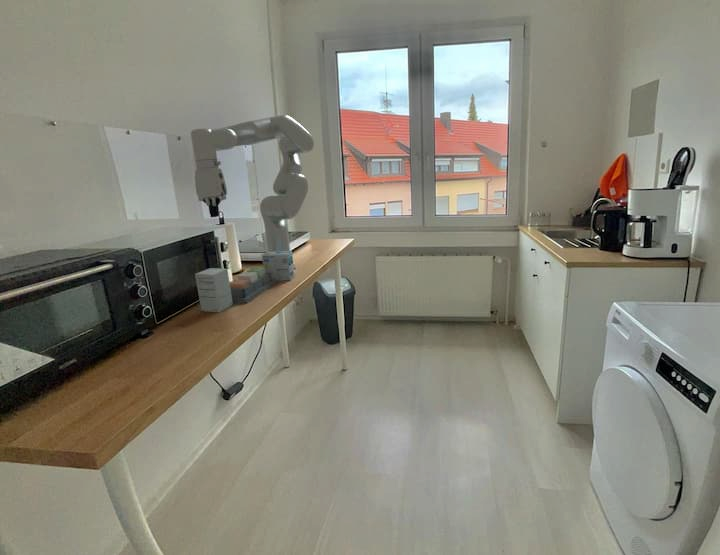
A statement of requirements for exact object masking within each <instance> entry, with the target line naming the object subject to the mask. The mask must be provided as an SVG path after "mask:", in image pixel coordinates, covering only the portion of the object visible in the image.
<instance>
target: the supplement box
mask: <svg viewBox="0 0 720 555" xmlns="http://www.w3.org/2000/svg"><path fill="white" fill-rule="evenodd" d="M228 271H229V270H228V268H218V267H217V268H215V267H213V268H211V267H210V268H206V269H205V270H202V271H199V272H196V273H195V274H194V276H195V282H196V287H197V292H198V297H199V298H198V299H199V304H200V310H201V311H202V312H211V313H221V312H223V311H224V310H226V309H228V308H230V307H232V306H233V305H234V303H233V301H232V295H231V289H230V283H231V282H230V277H229V272H228Z"/></svg>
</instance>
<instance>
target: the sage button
mask: <svg viewBox="0 0 720 555" xmlns="http://www.w3.org/2000/svg"><path fill="white" fill-rule="evenodd" d="M246 272H257V276H258V278H261V277H262V276H264V275H266V270H265V268H263V267H252V268H250V269H248V270H246Z"/></svg>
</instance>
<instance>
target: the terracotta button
mask: <svg viewBox="0 0 720 555" xmlns="http://www.w3.org/2000/svg"><path fill="white" fill-rule="evenodd" d="M248 285H249V280H238V279H235V280H233V281H231V282H230V288H242V289H243V288H244V287H246V286H248Z"/></svg>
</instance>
